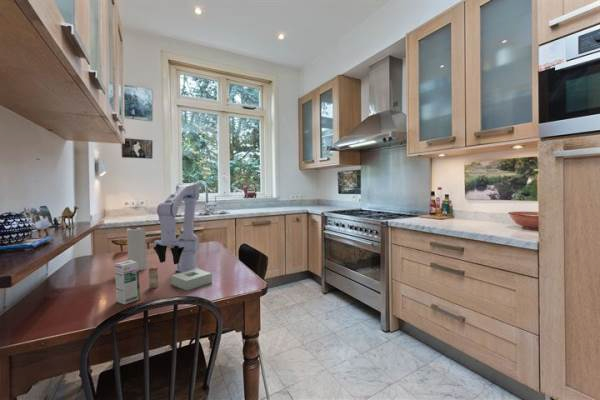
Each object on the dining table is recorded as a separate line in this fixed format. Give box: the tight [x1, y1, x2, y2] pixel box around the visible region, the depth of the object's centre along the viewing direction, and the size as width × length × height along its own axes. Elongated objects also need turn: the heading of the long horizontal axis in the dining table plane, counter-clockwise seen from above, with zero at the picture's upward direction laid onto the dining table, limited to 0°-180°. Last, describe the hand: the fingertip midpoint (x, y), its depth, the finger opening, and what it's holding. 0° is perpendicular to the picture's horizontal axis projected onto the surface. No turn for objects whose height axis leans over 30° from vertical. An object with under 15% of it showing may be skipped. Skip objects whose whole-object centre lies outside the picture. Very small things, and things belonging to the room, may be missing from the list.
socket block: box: [170, 267, 213, 291], centre depth 119 cm, size 12×12×4 cm
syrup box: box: [114, 260, 141, 305], centre depth 102 cm, size 6×6×14 cm
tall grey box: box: [126, 227, 148, 271], centre depth 139 cm, size 7×6×21 cm
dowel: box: [148, 266, 159, 289], centre depth 115 cm, size 3×3×8 cm
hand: (169, 262), depth 116 cm, fingers open, 7 cm apart
